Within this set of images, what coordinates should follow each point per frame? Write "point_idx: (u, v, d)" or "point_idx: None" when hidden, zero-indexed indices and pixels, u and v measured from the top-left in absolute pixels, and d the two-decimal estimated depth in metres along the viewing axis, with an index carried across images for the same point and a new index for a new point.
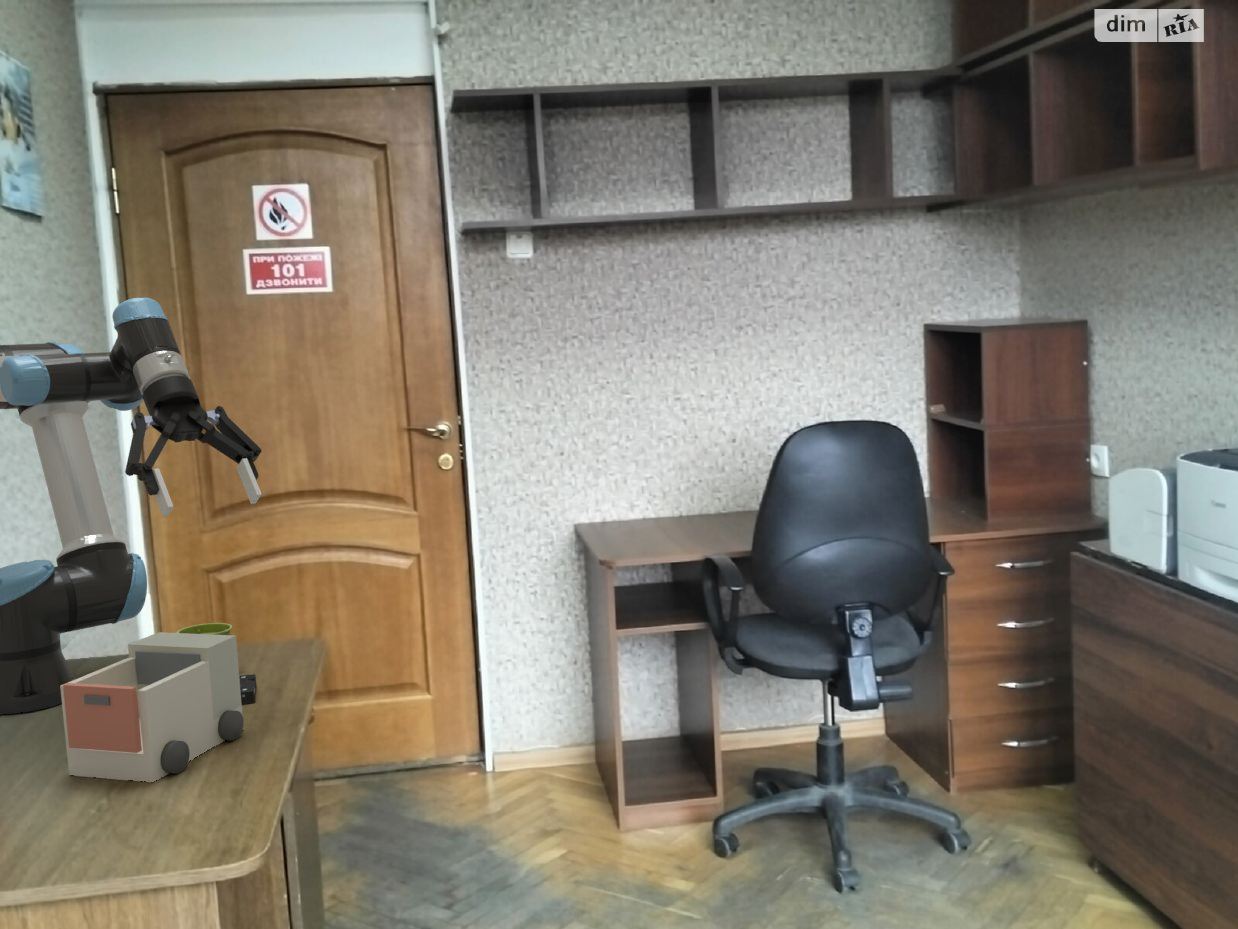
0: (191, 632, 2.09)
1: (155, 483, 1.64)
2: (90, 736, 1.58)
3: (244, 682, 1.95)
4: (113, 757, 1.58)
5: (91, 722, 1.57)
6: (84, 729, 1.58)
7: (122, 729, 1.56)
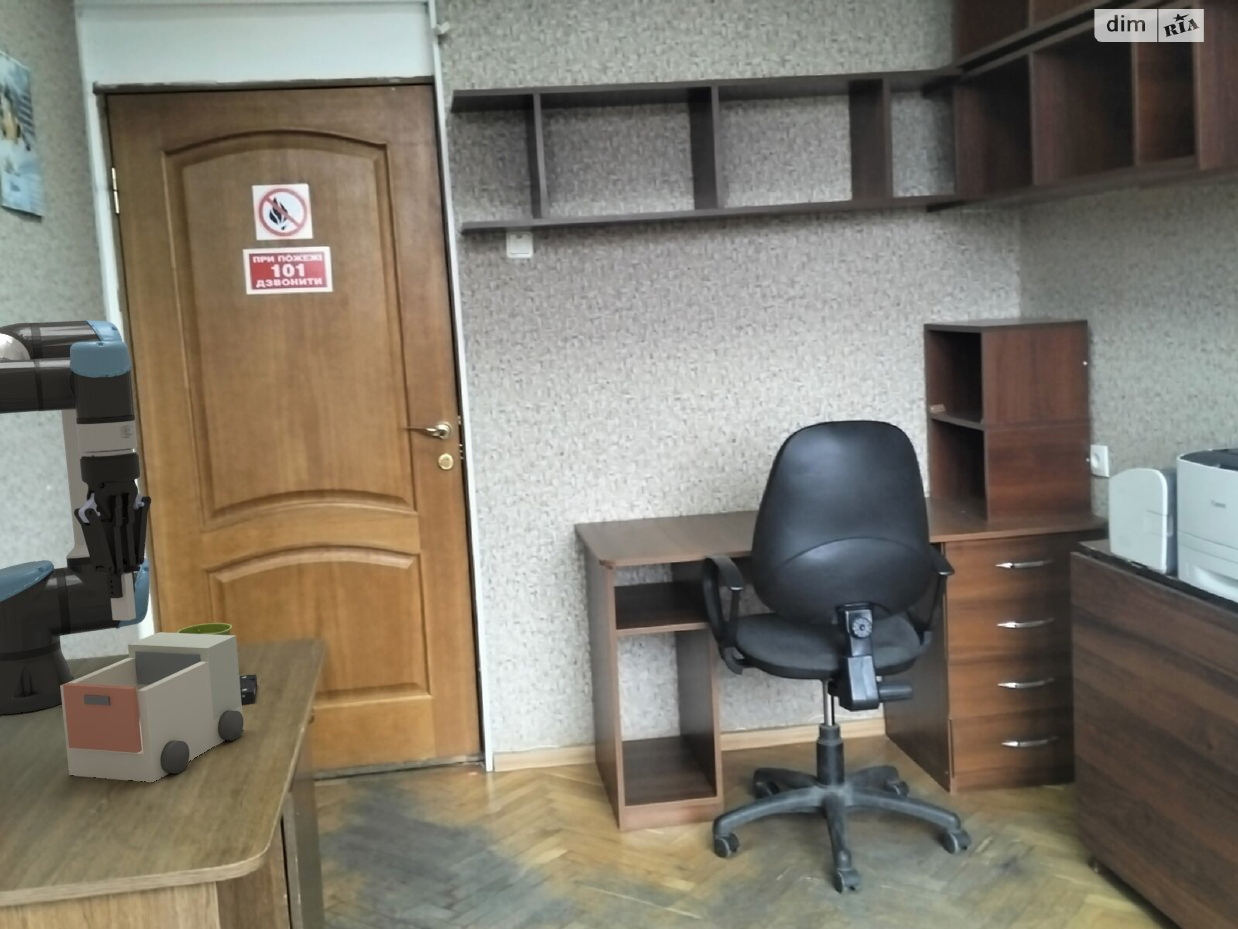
0: (191, 632, 2.09)
1: (121, 589, 1.60)
2: (90, 736, 1.58)
3: (245, 682, 1.95)
4: (113, 757, 1.58)
5: (91, 722, 1.57)
6: (84, 729, 1.58)
7: (122, 729, 1.56)
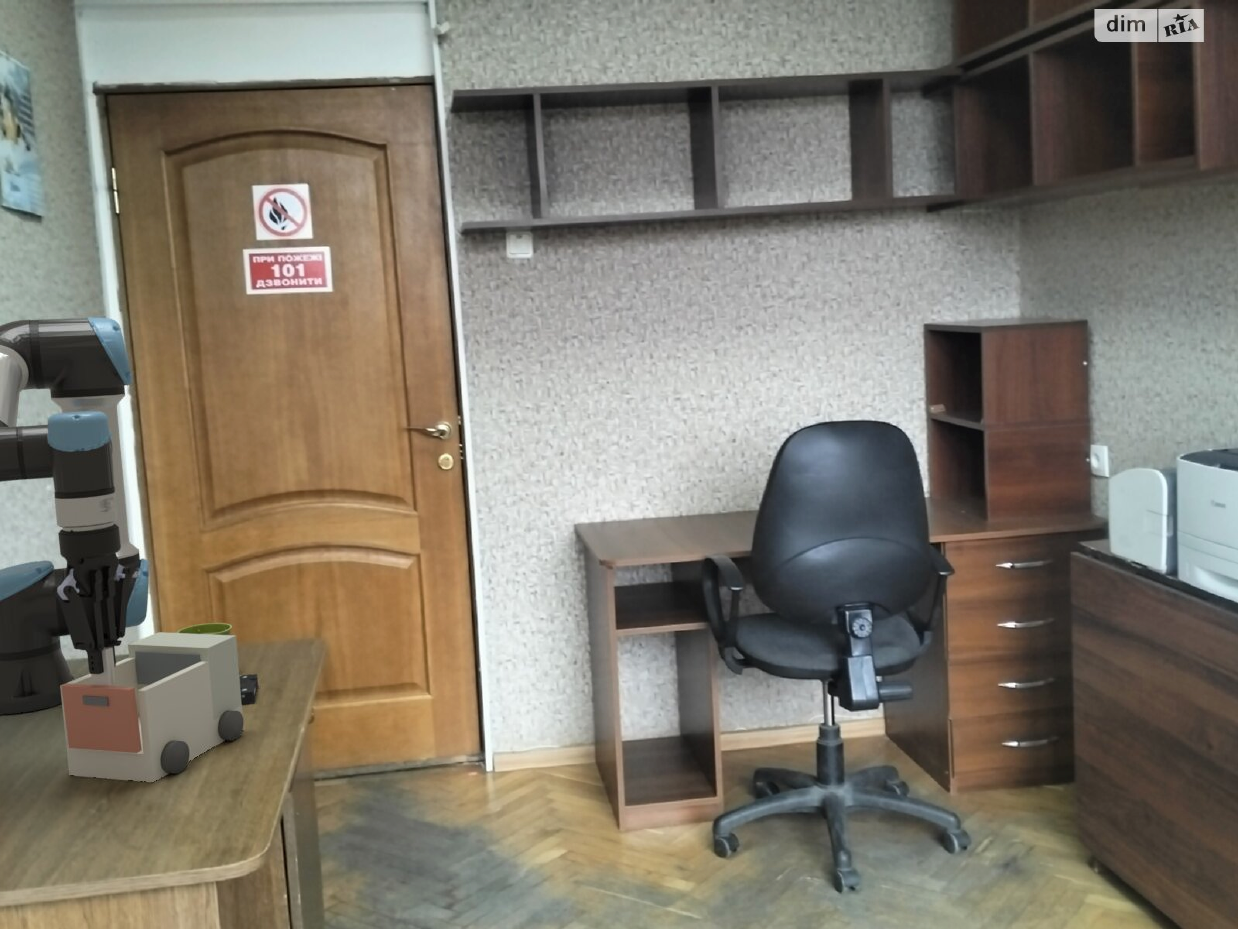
0: (191, 632, 2.09)
1: (102, 665, 1.56)
2: (90, 736, 1.58)
3: (245, 682, 1.95)
4: (113, 757, 1.58)
5: (90, 722, 1.57)
6: (83, 729, 1.58)
7: (121, 729, 1.56)
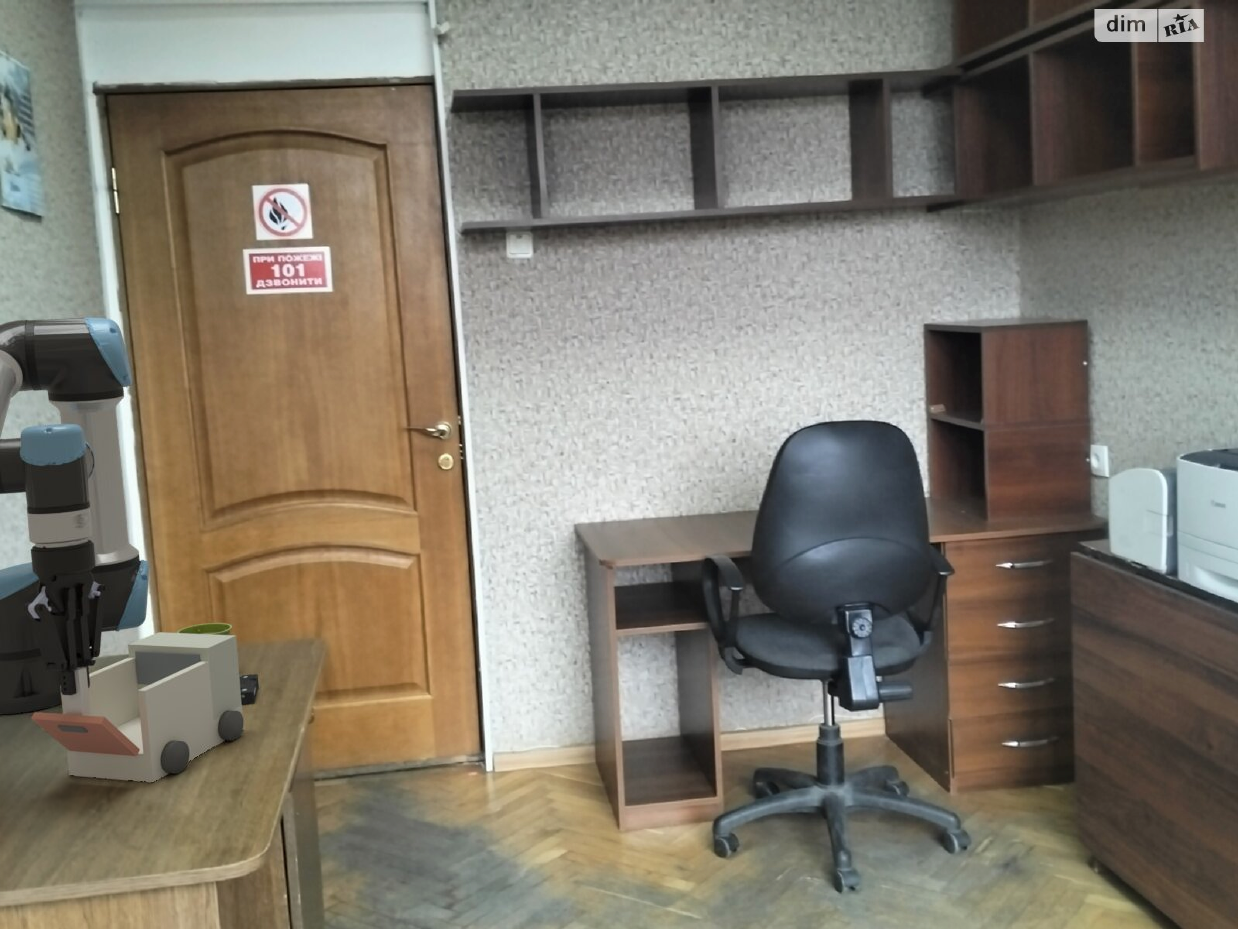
0: (191, 632, 2.09)
1: (74, 685, 1.52)
2: (84, 746, 1.57)
3: (245, 682, 1.95)
4: (113, 757, 1.58)
5: (77, 739, 1.55)
6: (74, 742, 1.56)
7: (111, 744, 1.54)
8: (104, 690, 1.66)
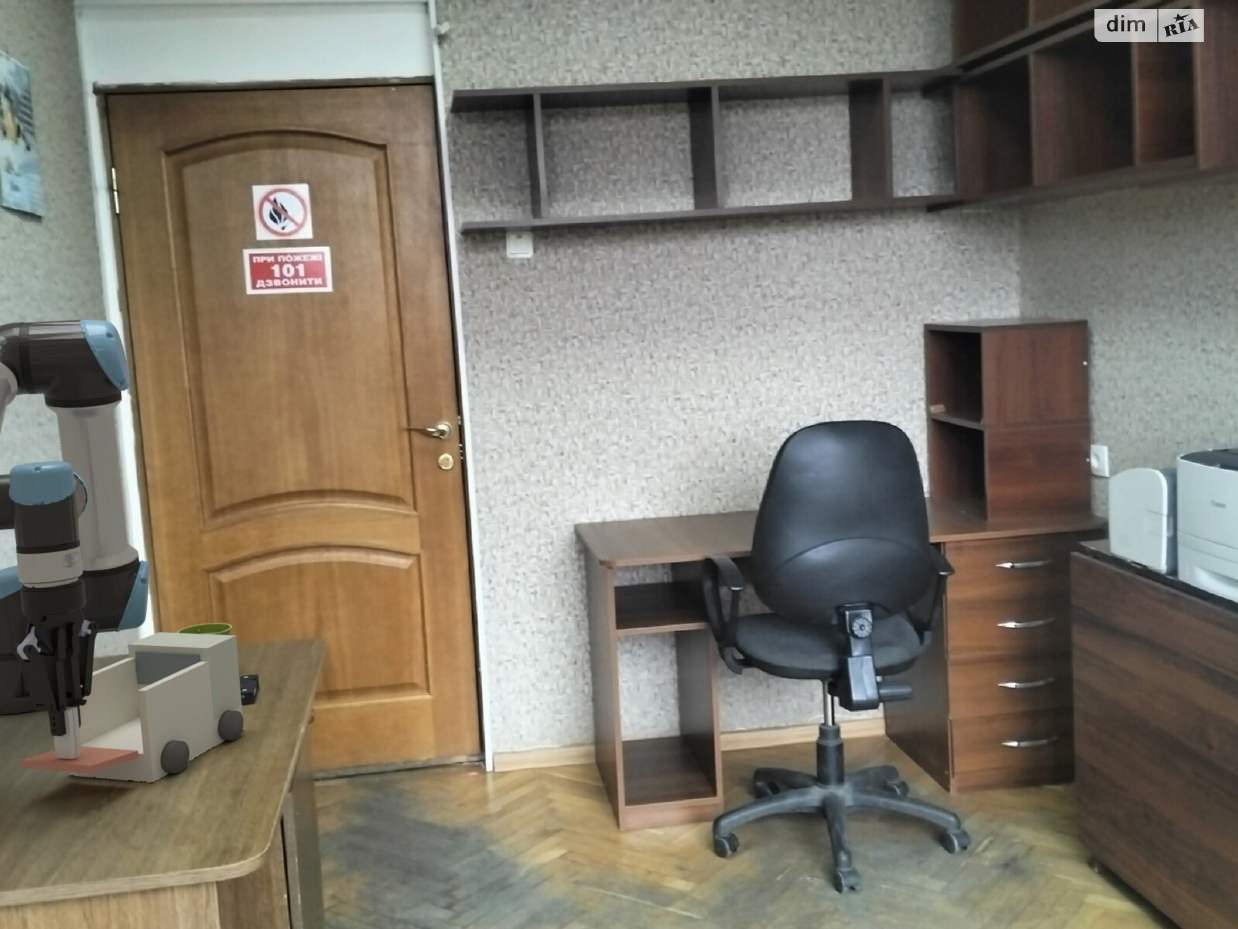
0: (191, 632, 2.09)
1: (64, 726, 1.50)
2: None
3: (246, 682, 1.95)
4: None
5: None
6: None
7: None
8: (104, 690, 1.66)
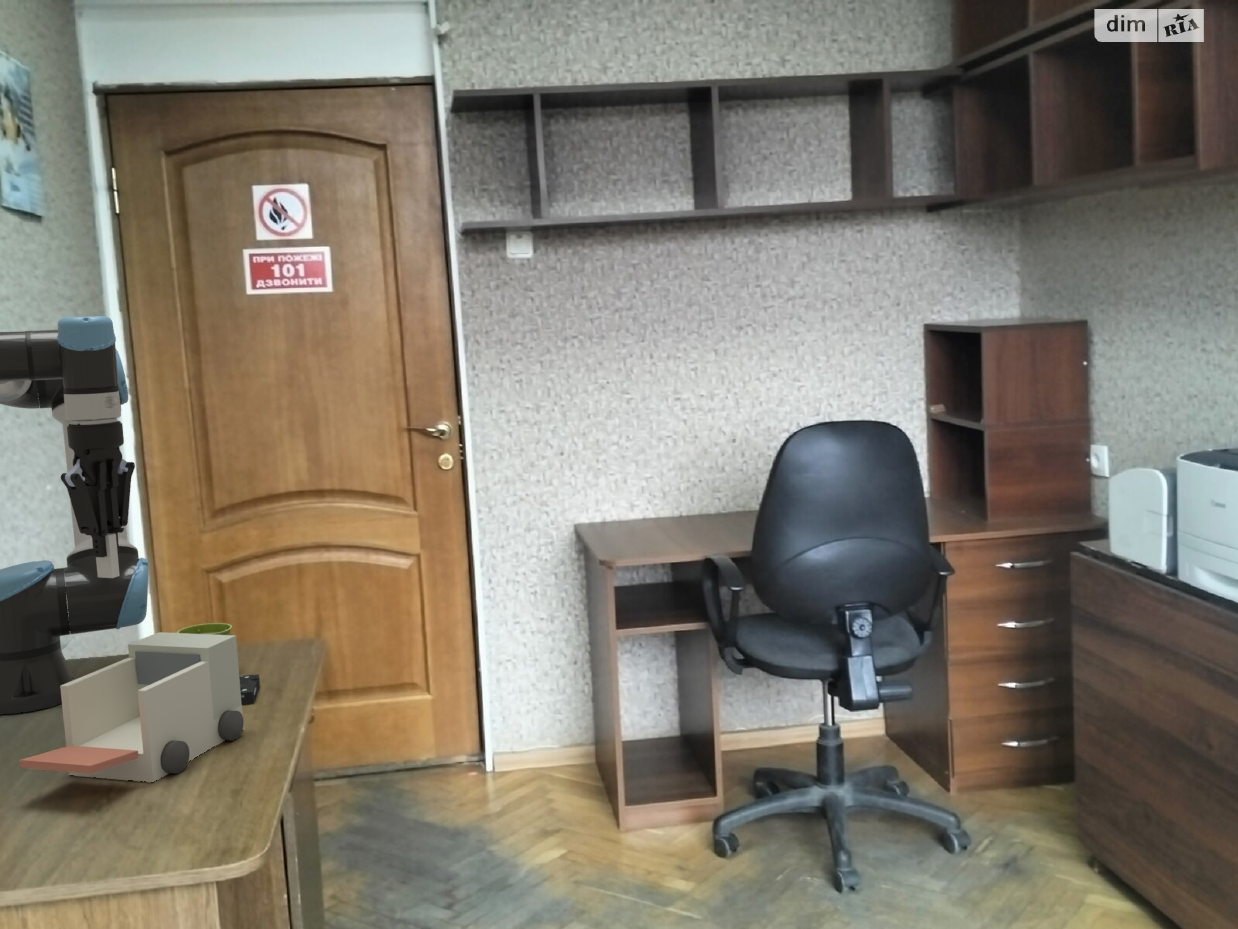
0: (191, 632, 2.09)
1: (105, 549, 1.71)
2: None
3: (246, 682, 1.95)
4: None
5: None
6: None
7: None
8: (104, 690, 1.66)
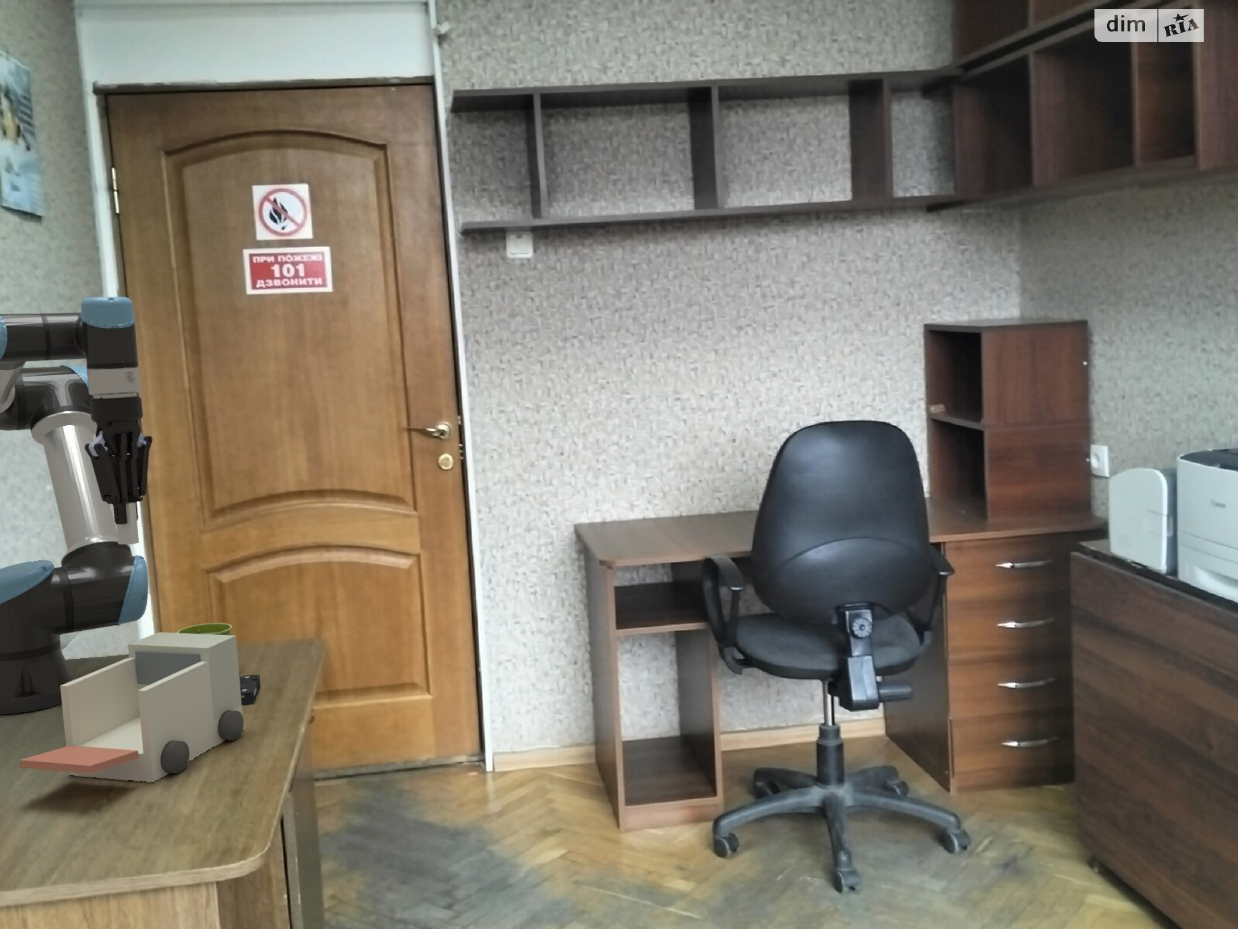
0: (191, 632, 2.09)
1: (125, 516, 1.81)
2: None
3: (246, 682, 1.95)
4: None
5: None
6: None
7: None
8: (104, 690, 1.66)
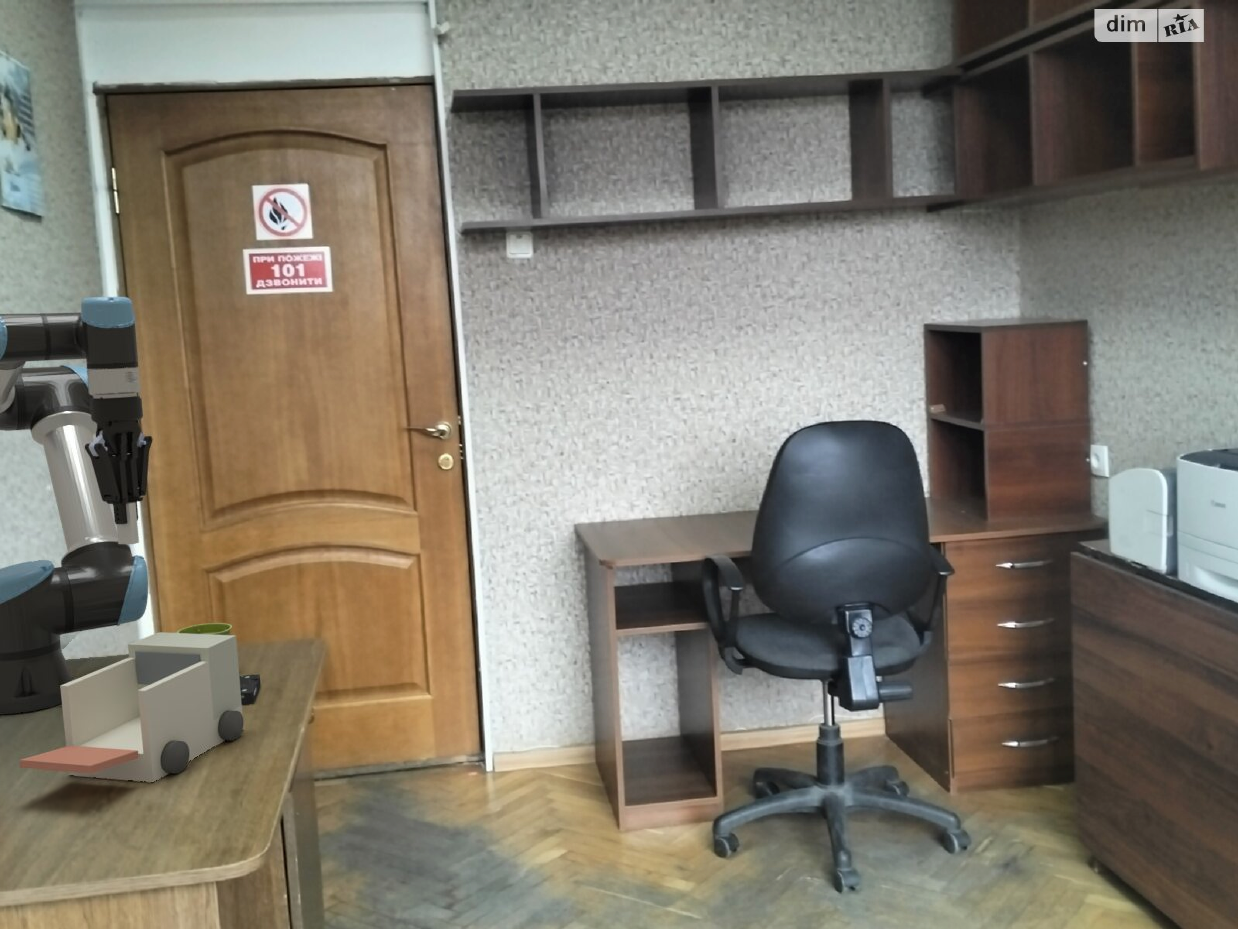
0: (191, 632, 2.09)
1: (125, 516, 1.81)
2: None
3: (246, 682, 1.95)
4: None
5: None
6: None
7: None
8: (104, 690, 1.66)
